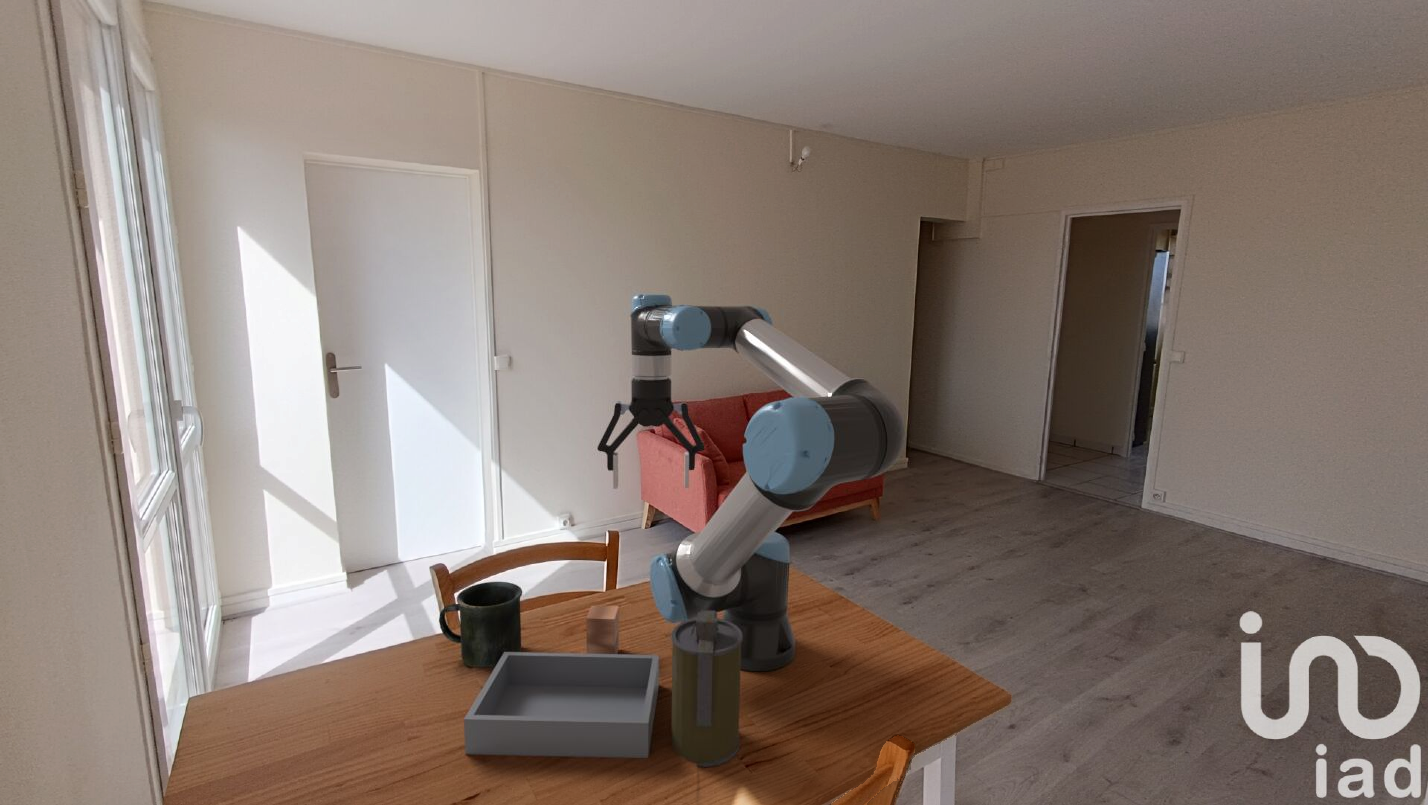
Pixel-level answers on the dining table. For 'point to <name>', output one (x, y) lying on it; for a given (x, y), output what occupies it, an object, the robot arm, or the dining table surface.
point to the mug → (486, 622)
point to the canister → (706, 689)
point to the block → (603, 630)
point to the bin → (565, 706)
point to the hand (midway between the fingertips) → (651, 486)
